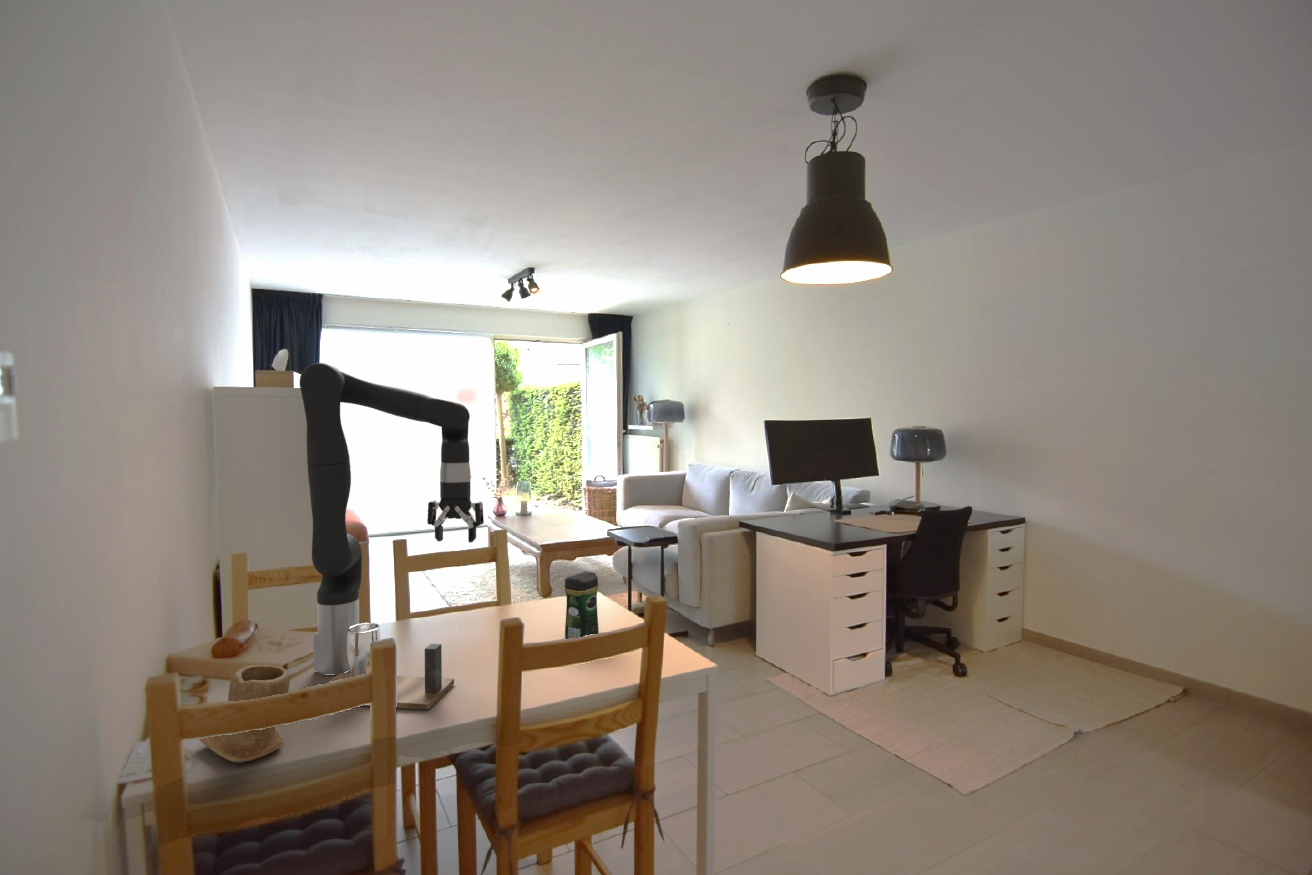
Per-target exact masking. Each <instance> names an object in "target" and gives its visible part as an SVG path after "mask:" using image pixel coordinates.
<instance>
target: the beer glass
mask: <svg viewBox="0 0 1312 875" xmlns="http://www.w3.org/2000/svg"><path fill="white" fill-rule="evenodd" d="M377 641H380V642H381V630H380V624H378V623H374V622H363V623H359V624H357V625H354V626H351V627H350V628H348V634H347V658H348V663H349V668H350V672H349V673H351V677H355V676H358V675H361V674H367V673H369V672H370V644H371V643H373V642H377Z"/></svg>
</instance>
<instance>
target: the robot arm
mask: <svg viewBox="0 0 1312 875" xmlns="http://www.w3.org/2000/svg"><path fill="white" fill-rule="evenodd" d="M299 377H300V378H299V388H300V393H301V398H302V402H303V407H304V414H305V420H306V462H307V477H308V478H307V480H308V486H309V496H310V509H311V515H312V540H311V542H312V544H311V562H312V564H313V566H314V568H315V570H316V571H317V573H319V574H320V575H321V582H320V584H319V587H318V589H317V592H316V603H317V604H316V605H317V606H316V610H317V612H316V613H317V619H316V620H317V631H316V632H314V634H313V672H314V671H318V672H319V673H318V672H317V673H318V674H320V673H321V674H320V675H322V674H340V673H344V672H346V671H349V670H350V668H349V663H348V658H347V634H348V628H350V627H351V626H354V625H357V624H360V588H361V584H362V570H363V569H362V567H363V566H362V565H363V564H362V563H363V560H362V559H363V555H362V547H361V544H360V542H359V540H358V539H357V538H356V537H355V536H353V535H352V534H350V533H348V532H347V524H346V520H347V519H346V516H347V515H346V514H347V508H348V503H349V497H350V493H351V485H352V472H351V471H352V470H351V459H350V452H349V448H348V444H347V440H346V436H345V433H344V430H343V426H342V420H341V403H343V404H344V403H345V404H351V405H358V406H362V407H367V408H370V409H374V410H377V411H379V412H382V413H386V414H390V415H393V416H394V417H395V416H396V417H399V418H404V419H407V420H411V421H416V422H420V423H421V422H423V423H427V424H430V425H435V426H437V427H441V439H442V440H441V448H440V461H441V462H440V470H439V471H440V474H439V479H440V481H439V483H440V484H439V485H440V486H439V488H440V489H439V490H440V492H439V496H440V500H439V501H437V500H432V501H429V502H428V503H427V504H428V505H427V520H426V521H427V522H426V523H427V524H428V525H431V526H433V527H434V538H435V540H436V541H437V542H441V541H443V540H444V526H443V525H444V523H445V522H446V520H447V519H449V520H450V519H452V520H453V519H455V520H461V519H462V520H463V522H465V523H466V525H467V526H468V530H467V532H468V537H467V539H468V543H473V542H474V541H475V540H476V538H477V527H479V526H481V525H483V524H484V505H483V502H482V501H477V502H472V501H471V478H472V475H471V465H470V444H469V424H470V423H469V422H470V419H471V418H470V412H469V409H468V408H467V407H466V406H465V405H463V404H462V403H459V402H454V401H450V400H447V399H446V400H445V399H439V398H435V397H432V396H430V395H426V394H424V393H420V392H416V391H412V390H407V389H404V388H401V387H395V386H388V385H385V384H384V385H383V384H379V383H378V384H377V383H374V382H370V381H366V380H363V379H360V378H357V377H355V376H353V375H350V374H347V373H345V372H343V371H341V370H339V369H338V368H337V367H335V366H332V365H331V364H328V363H323V362H315V363H312V364H310V365H308V366H306V367H305V368H304V369H303V371H302V372H301V375H300V376H299ZM439 508H440V510H441V513H440V514H439V516H438V518H437V511H438V509H439ZM471 509H472V510H473V511H474V516H475V519H474V516H473V515H472V513H471V512H470V510H471Z"/></svg>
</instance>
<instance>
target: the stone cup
mask: <svg viewBox="0 0 1312 875" xmlns="http://www.w3.org/2000/svg"><path fill="white" fill-rule="evenodd" d="M290 678H291V677H290V673H289V671H288V670H287V669H286V668H284V667H280V666H277V665H270V664H269V665H266V664H255V665H254V664H253V665H247V666H245V667H242V668H239V669H238V670H237V671H236V672H235V673H234V674H233V676H232V677H231V678H230V683H229V687H228V696H227V702H228V701H239V700H250V699H257V698H262V697H267V696H272V695H277V694H284V693H287V694H288V693H289V689H290V680H291V679H290ZM198 740H199V741H200V742H201V743H202V744H203V745H204V746H205V747H207V748H208V749H209V750H211V751H212V752H214V753H215V754H217V755H218V756H220V757H222V758H223V759H225V760H228V761H229V762H233V763H237V764H239V763H247V762H250V761H255V760H257V759H259V758H262V757H265V756H267V755H269V754H271V753H273V752H275V751H276V750H278V749H279V748H281V747H282V746H283V744H284V740H283V737H282V736H281V735H280V733H279V732H278V731H277V730H276V726H275V727H271V728H266V729H263V730H251V731H248V732H242V733H237V734H232V735H221V736H214V737H208V738H203V739H199V738H198Z"/></svg>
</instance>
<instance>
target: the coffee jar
mask: <svg viewBox="0 0 1312 875" xmlns="http://www.w3.org/2000/svg"><path fill="white" fill-rule="evenodd" d="M564 579H565V580H564V592H565V594H566V595H565V596H566V610H565V624H564V626H565V627H564V639H565V640H566V639H570V638H578V637H583V636H585V635H590V634H598V633H599V618H598V600H597V599H598V589H599V579H598V576H597V574H596V573H595V572H591V571H586V570H585V571H583V572H580V573H577V574H574V575H571V576H568V577H566V578H564ZM599 634H600V633H599ZM599 634H598V635H599Z"/></svg>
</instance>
